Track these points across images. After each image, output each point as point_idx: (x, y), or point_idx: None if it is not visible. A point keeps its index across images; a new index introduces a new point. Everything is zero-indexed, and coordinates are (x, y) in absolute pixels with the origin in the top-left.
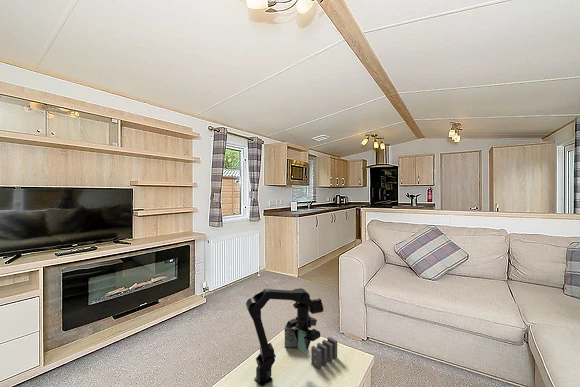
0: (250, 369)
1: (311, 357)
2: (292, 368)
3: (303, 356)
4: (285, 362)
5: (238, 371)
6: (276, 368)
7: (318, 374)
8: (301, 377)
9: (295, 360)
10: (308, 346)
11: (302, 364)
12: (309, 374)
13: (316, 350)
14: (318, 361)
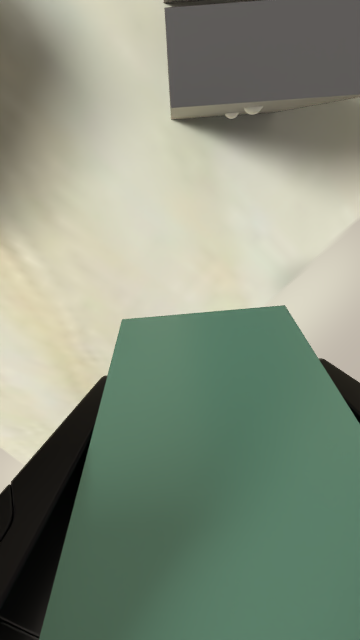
0: (30, 435)
1: (172, 116)
2: (129, 288)
3: (27, 101)
4: (46, 290)
5: (24, 464)
6: (78, 357)
7: (308, 171)
8: (234, 293)
9: (55, 215)
10: (352, 389)
11: (130, 199)
12: (253, 232)
13: (310, 99)
14: (293, 107)
